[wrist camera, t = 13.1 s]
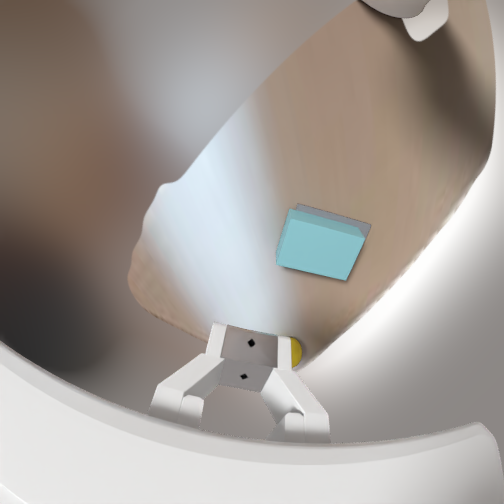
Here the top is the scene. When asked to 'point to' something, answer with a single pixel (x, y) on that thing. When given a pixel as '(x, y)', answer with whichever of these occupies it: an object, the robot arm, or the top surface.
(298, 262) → the teal block
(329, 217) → the mat
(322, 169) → the top surface
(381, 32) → the top surface
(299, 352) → the lemon
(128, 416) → the robot arm
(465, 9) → the top surface
